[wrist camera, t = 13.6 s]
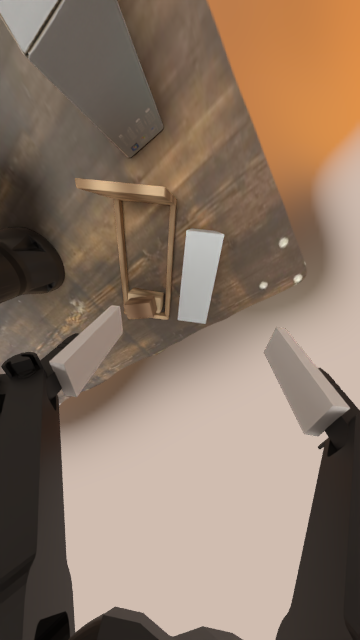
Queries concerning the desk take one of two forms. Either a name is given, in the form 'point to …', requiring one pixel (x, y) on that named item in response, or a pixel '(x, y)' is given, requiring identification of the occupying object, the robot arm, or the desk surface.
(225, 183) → the desk surface
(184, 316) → the grey rectangular block
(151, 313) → the offcut upper
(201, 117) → the desk surface
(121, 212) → the rack
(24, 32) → the hard drive box
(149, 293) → the offcut lower
